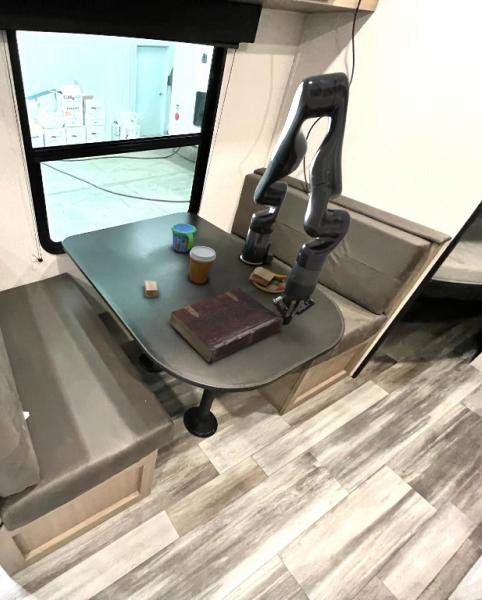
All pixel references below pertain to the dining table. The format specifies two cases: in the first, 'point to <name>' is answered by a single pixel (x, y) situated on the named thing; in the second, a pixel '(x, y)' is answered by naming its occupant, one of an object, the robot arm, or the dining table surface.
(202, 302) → the hardback book
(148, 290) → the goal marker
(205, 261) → the disposable coffee cup
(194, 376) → the dining table surface
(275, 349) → the dining table surface
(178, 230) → the snack cup
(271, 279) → the toy sandwich meal
